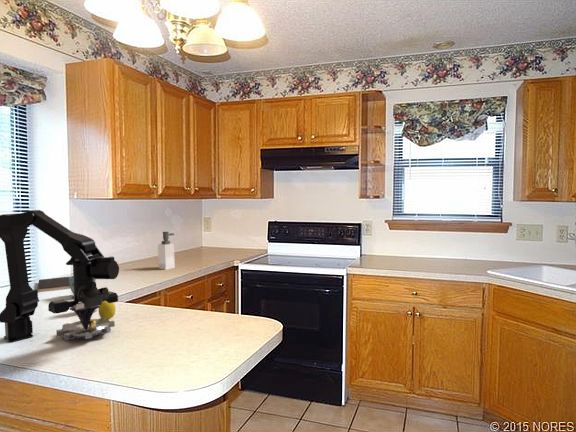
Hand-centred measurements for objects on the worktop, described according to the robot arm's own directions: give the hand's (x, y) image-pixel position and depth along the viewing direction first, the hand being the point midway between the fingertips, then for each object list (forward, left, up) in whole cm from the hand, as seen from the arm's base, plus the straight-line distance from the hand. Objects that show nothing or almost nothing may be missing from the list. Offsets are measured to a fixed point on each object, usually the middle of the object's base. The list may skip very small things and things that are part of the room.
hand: (85, 329), depth 126 cm
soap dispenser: (+84, +86, -4) cm, 120 cm away
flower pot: (+23, +58, -4) cm, 62 cm away
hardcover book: (+23, +91, -5) cm, 94 cm away
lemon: (+14, +15, -4) cm, 21 cm away
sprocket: (+3, +6, -2) cm, 7 cm away
